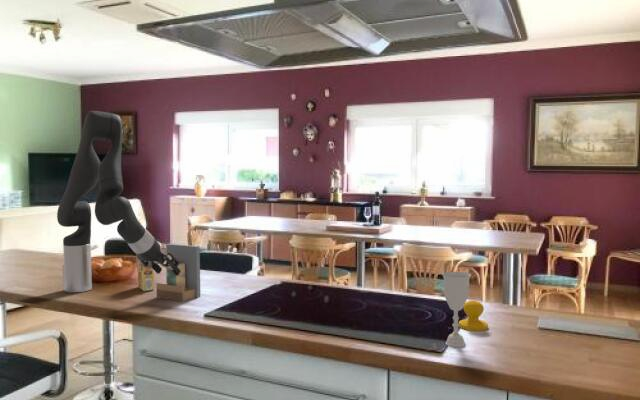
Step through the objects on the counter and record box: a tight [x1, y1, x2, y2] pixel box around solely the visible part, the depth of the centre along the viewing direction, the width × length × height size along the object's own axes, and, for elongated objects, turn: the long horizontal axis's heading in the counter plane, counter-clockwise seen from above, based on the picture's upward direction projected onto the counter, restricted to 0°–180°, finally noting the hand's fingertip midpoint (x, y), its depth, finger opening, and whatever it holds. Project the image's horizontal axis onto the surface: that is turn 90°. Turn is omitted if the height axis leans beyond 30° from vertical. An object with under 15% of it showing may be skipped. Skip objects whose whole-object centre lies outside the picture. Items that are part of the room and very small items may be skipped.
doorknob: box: [458, 299, 489, 332], centre depth 150 cm, size 8×8×8 cm
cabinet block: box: [165, 263, 185, 289], centre depth 185 cm, size 5×4×9 cm
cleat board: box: [155, 243, 201, 302], centre depth 186 cm, size 14×8×18 cm, turn 62°
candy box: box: [136, 257, 155, 292], centre depth 199 cm, size 9×4×15 cm, turn 33°
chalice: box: [441, 271, 472, 348], centre depth 135 cm, size 7×7×18 cm
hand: (169, 272), depth 182 cm, fingers open, 8 cm apart
